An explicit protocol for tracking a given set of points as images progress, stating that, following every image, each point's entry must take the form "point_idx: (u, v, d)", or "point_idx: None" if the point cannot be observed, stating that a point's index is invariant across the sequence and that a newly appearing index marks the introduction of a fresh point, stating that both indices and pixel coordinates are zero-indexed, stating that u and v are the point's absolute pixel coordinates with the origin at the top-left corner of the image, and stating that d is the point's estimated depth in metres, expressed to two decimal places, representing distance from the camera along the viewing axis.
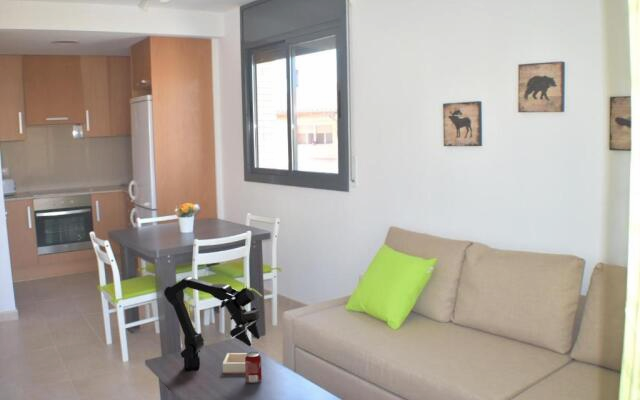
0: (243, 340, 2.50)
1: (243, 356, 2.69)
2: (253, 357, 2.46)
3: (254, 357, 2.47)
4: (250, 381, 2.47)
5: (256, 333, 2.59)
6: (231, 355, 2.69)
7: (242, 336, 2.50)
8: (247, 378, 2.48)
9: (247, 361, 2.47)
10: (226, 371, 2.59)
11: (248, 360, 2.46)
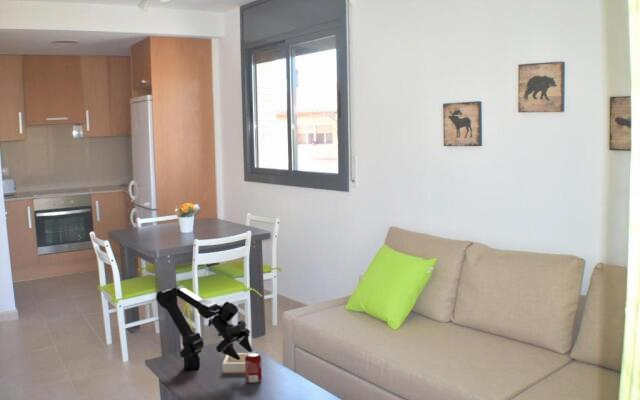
0: (231, 354, 2.47)
1: (243, 356, 2.69)
2: (253, 357, 2.46)
3: (254, 357, 2.47)
4: (250, 381, 2.47)
5: (248, 347, 2.55)
6: None
7: (229, 351, 2.47)
8: (247, 378, 2.48)
9: (247, 361, 2.47)
10: (226, 371, 2.59)
11: (248, 360, 2.46)
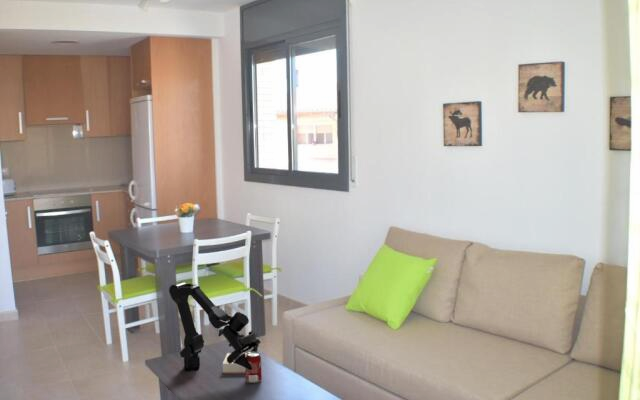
0: (243, 364, 2.46)
1: None
2: (253, 357, 2.46)
3: (254, 357, 2.47)
4: (250, 381, 2.47)
5: None
6: None
7: (241, 361, 2.46)
8: (247, 378, 2.48)
9: None
10: (226, 371, 2.59)
11: (248, 360, 2.46)
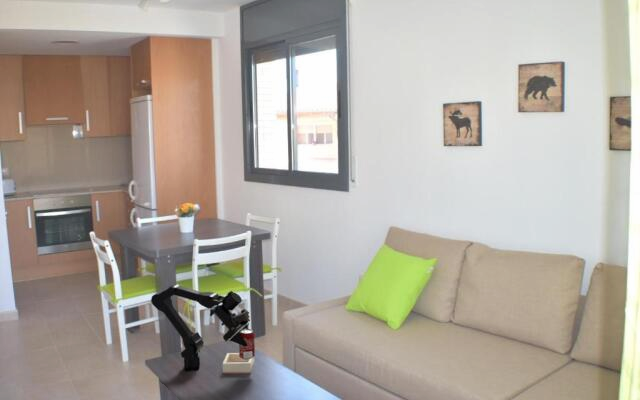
0: (238, 342, 2.53)
1: None
2: (248, 334, 2.54)
3: (249, 334, 2.54)
4: (245, 357, 2.55)
5: None
6: (231, 355, 2.69)
7: (237, 338, 2.53)
8: (241, 355, 2.55)
9: None
10: (226, 371, 2.59)
11: (243, 337, 2.54)
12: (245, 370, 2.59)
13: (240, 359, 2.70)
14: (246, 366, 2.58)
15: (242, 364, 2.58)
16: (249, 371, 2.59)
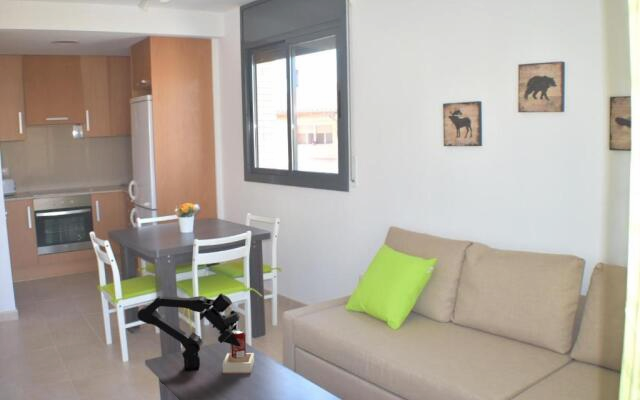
0: (232, 342, 2.59)
1: None
2: (240, 334, 2.61)
3: (241, 334, 2.61)
4: (238, 357, 2.61)
5: None
6: None
7: (230, 339, 2.59)
8: (234, 355, 2.61)
9: None
10: (226, 371, 2.59)
11: (236, 337, 2.60)
12: (245, 370, 2.59)
13: (240, 359, 2.70)
14: (246, 366, 2.58)
15: (242, 364, 2.58)
16: (249, 371, 2.59)
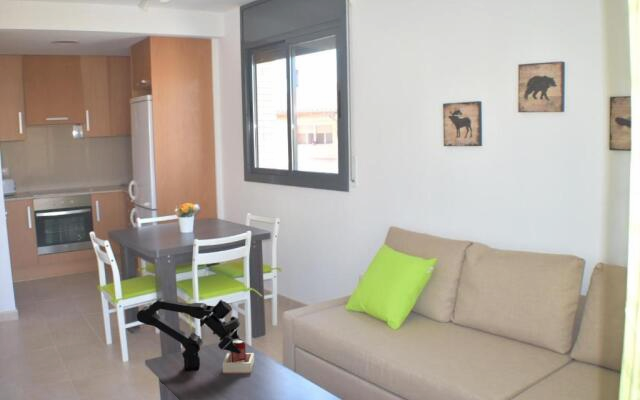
0: (232, 349, 2.58)
1: None
2: (240, 343, 2.61)
3: (241, 343, 2.62)
4: None
5: None
6: None
7: (230, 346, 2.58)
8: None
9: None
10: (226, 371, 2.59)
11: None
12: (245, 370, 2.59)
13: None
14: (246, 366, 2.58)
15: (242, 364, 2.58)
16: (249, 371, 2.59)
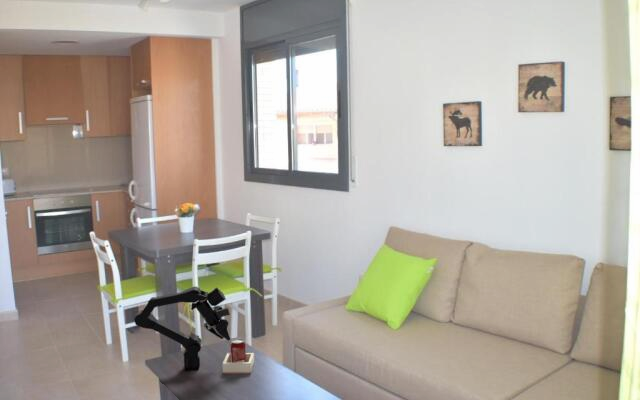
0: (224, 335, 2.60)
1: None
2: (240, 343, 2.61)
3: (241, 343, 2.62)
4: None
5: None
6: None
7: (223, 331, 2.60)
8: None
9: (235, 348, 2.60)
10: (226, 371, 2.59)
11: (236, 347, 2.60)
12: (245, 370, 2.59)
13: None
14: (246, 366, 2.58)
15: (242, 364, 2.58)
16: (249, 371, 2.59)
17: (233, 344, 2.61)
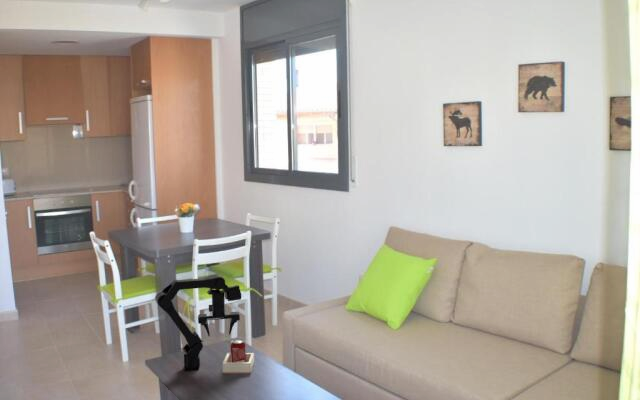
0: (231, 327, 2.70)
1: None
2: (240, 343, 2.61)
3: (241, 343, 2.62)
4: None
5: None
6: None
7: None
8: None
9: (235, 348, 2.60)
10: (226, 371, 2.59)
11: (236, 347, 2.60)
12: (245, 370, 2.59)
13: None
14: (246, 366, 2.58)
15: (242, 364, 2.58)
16: (249, 371, 2.59)
17: (233, 344, 2.61)
